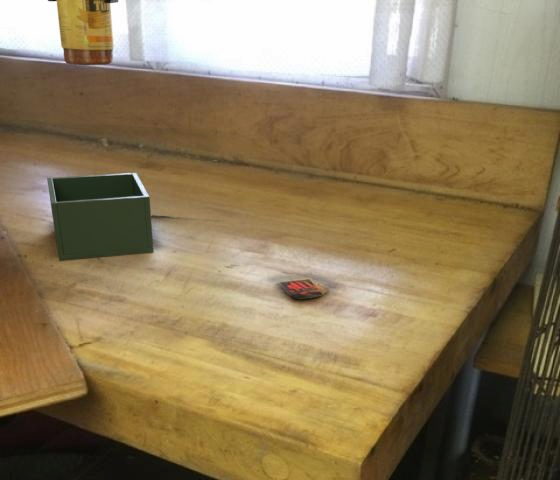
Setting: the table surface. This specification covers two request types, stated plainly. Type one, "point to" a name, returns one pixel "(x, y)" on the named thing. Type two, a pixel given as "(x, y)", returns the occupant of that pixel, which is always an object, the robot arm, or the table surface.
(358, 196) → the table surface
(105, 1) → the robot arm
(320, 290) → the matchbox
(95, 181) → the bin
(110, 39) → the sauce bottle
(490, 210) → the table surface
